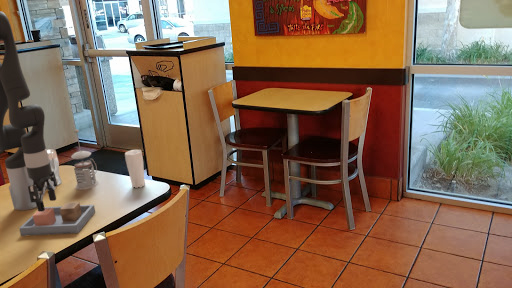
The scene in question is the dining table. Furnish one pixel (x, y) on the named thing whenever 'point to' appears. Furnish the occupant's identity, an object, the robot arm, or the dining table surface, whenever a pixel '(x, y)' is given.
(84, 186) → the french press
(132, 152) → the drinking glass
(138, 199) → the dining table surface
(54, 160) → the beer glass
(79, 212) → the walnut block
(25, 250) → the dining table surface
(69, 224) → the slate tray
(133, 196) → the dining table surface
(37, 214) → the brick block
